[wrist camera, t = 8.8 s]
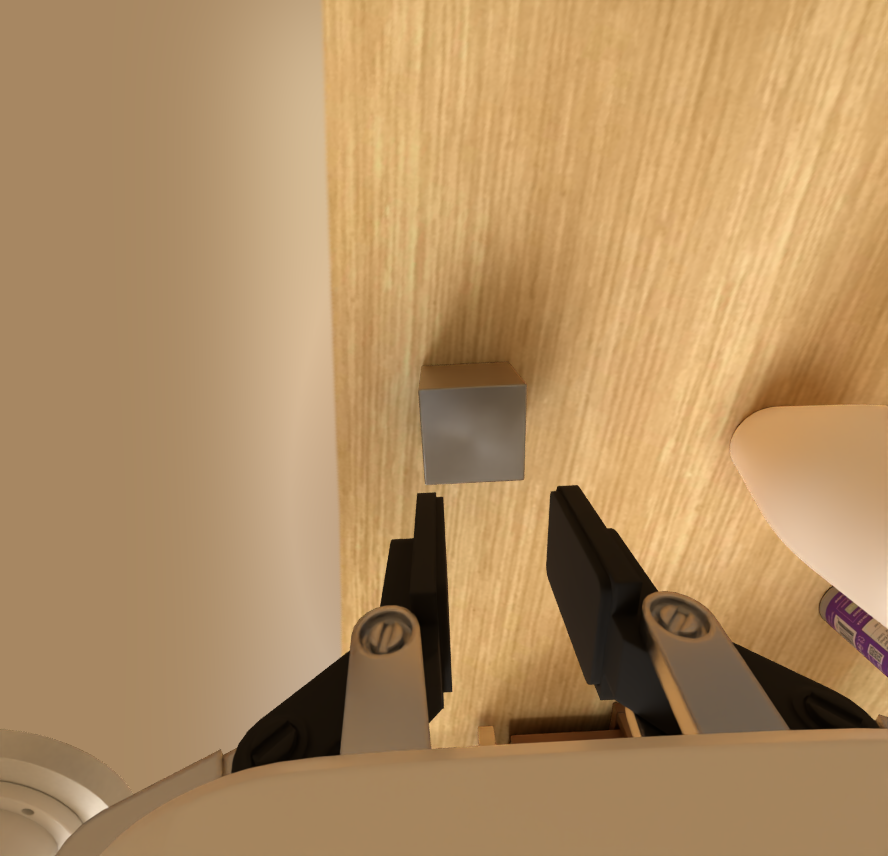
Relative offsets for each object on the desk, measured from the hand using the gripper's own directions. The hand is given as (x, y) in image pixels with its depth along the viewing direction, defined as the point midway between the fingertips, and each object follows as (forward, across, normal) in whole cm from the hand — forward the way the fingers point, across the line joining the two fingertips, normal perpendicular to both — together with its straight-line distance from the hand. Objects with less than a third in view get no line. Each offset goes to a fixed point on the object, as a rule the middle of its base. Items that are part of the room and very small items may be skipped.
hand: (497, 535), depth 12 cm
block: (+12, 0, 0) cm, 12 cm away
